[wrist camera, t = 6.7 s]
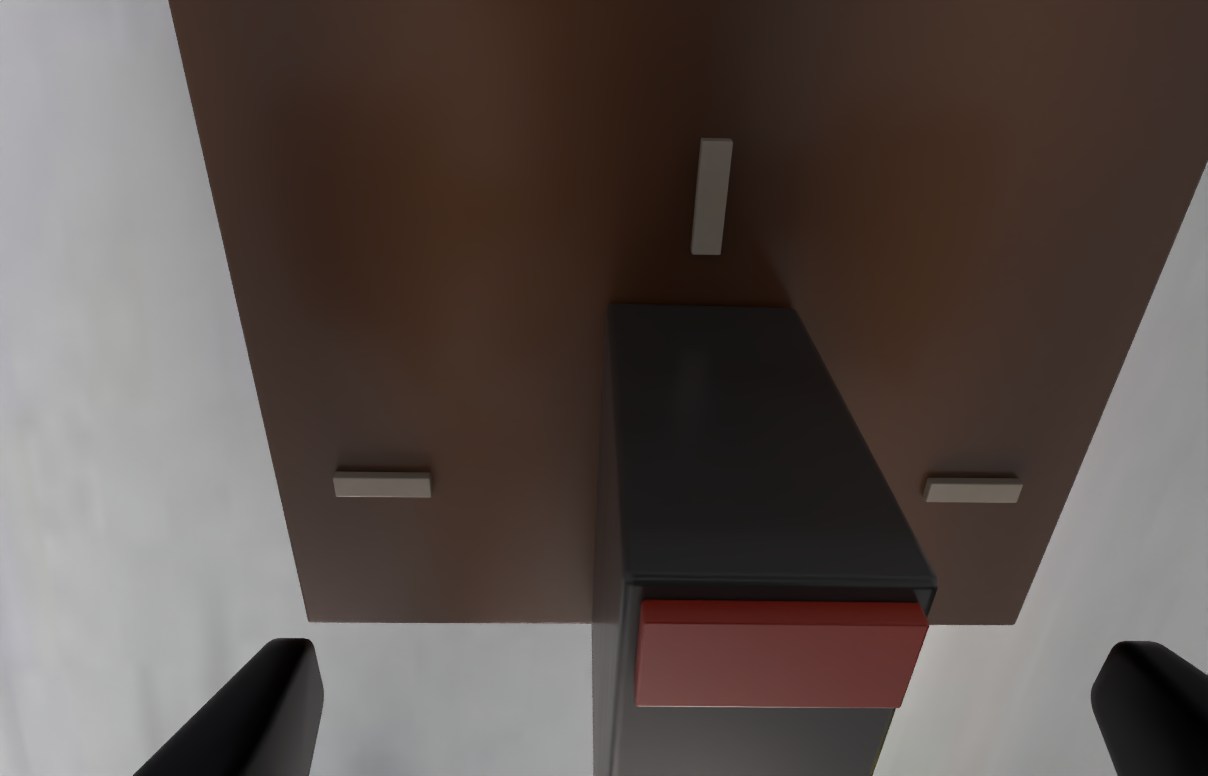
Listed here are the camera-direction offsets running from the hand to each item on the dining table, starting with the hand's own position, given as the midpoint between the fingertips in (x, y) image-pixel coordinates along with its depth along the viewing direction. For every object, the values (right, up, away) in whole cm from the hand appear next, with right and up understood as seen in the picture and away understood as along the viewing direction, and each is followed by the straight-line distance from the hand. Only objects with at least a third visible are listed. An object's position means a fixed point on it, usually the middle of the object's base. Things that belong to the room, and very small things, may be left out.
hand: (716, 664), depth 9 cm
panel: (0, +4, +5) cm, 6 cm away
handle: (0, +2, +3) cm, 3 cm away
